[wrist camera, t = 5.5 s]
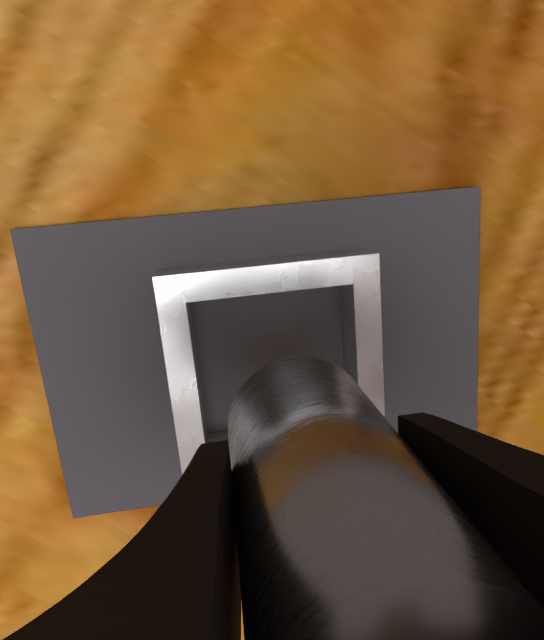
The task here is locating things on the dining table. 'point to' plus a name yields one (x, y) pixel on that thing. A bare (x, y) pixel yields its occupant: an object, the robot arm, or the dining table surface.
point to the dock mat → (237, 323)
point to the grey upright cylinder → (354, 524)
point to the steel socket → (262, 278)
